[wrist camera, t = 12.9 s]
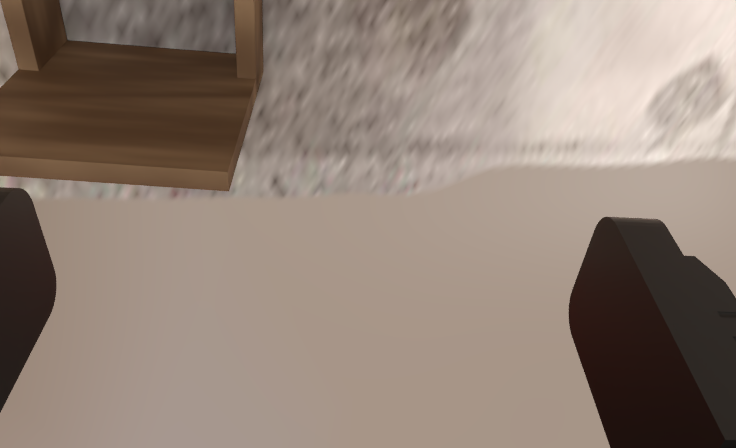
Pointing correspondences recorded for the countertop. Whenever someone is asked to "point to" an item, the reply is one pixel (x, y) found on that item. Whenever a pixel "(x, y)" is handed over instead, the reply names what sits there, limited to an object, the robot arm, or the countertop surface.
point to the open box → (125, 104)
